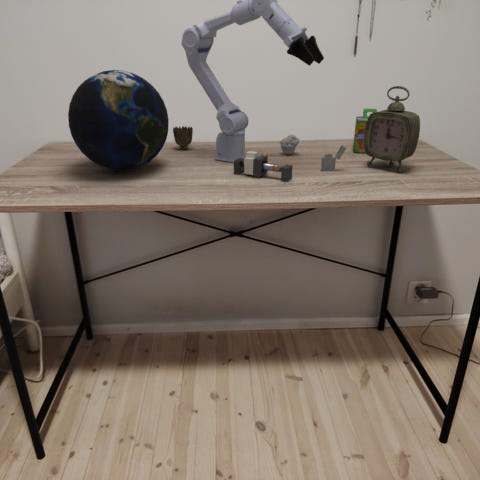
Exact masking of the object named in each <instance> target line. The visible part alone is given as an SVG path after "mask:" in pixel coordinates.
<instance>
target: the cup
mask: <svg viewBox="0 0 480 480" xmlns="http://www.w3.org/2000/svg"><path fill="white" fill-rule="evenodd" d="M193 129H194V128H193V126H191V127H190V126H188V127H187V126H186V125H185V126H184V125H183V126H179V127H178V126H175V127H172V132H173V139H174V142H175V144H176V145H178V148H179V150H180V151H187V150H189V149H190V145H191V144H192V142H193V133H194V132H193Z"/></svg>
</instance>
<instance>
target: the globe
mask: <svg viewBox="0 0 480 480" xmlns="http://www.w3.org/2000/svg"><path fill="white" fill-rule="evenodd" d="M67 114H68V116H67V117H68V128H69V132H70V135H71V137H72V139H73V141H74V144H75V145H76V147H77V148H78V149H79V151H80V152H81V153H82V154H83V155H84V156H85V157H86V158H87V159H89V160H90V161H91V162H92V163H94V164H96V165H98V166H99V167H102V168H105V169H108V170H112V171H121V172H122V171H124V172H125V171H132V170H136V169H139V168H141V167H143V166H146V165H147V164H149V163H151V162H152V161H153V160H154V159H155V158H156V157H157V156H158V155H159V153H160V152H161V150H163V147H164V146H165V143H166V141H167V138H168V133H169V114H168V110H167V107H166V103H165V102H164V100H163V98H162V96H161V94H160V93H159V91H157V89H156V88H155V87H154V86H153V85H152V84H151V83H150V82H148V81H147V80H146V79H145V78H143V77H141V76H139V75H138V74H136V73H133V72H130V71H125V70H119V69H113V70H111V69H109V70H103V71H101V72H96V73H94V74H93V75H91V76H90V77H88V78H87V79H85V80H84V81H83V82H82V83H80V85H79V86H78V87H77V88H76V90H75V92H74V93H73V95H72V97H71V100H70V102H69V106H68V112H67Z"/></svg>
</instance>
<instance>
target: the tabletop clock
mask: <svg viewBox="0 0 480 480" xmlns="http://www.w3.org/2000/svg"><path fill="white" fill-rule="evenodd" d="M394 89H396V90H397V89H399V90H403V91H405V92H406V93H407V96H406V97H405V98H400V96H399V95H396V96H395V98H394V97H391V96H390V94H389V93H390V92H391V91H392V90H394ZM386 96H387V97H388V99H389V100H392V101H393V102H391V103H390V104H389V105H388V106H387V108H386V109H383V110H380V111H377V112H375V113H372V112H371V113H369V115H368V116H369V118H368V120H367V124H366V129H365V137H364V149H365V153H364V154H365V155H367V156H369V157H371V159H370V160H369V161H366V166H368V167H371V166H372V164H373V161H374V160H375V159H376V160H377V159H378V160H381V161H388V164H387V165H388V166H389V167H393V166H394V162H398V168H397V172H398V173H403V172H404V168H403V167H402V161H403V160H407V159H408V158H410V157H412V156H413V155H414V154H415V152H416V150H417V146H418V143H419V139H420V132H421V131H420V130H421V118H420V115H419V114H417V113H415V112H413V111H409V110H406V108H405V106H404V104H403V103H402V102H403V101H406V100H407V99H409V98H410V91H409V89H408V88H406V87H404V86H398V85H395V86H392V87H390V88H389V89H388V90H387V91H386Z"/></svg>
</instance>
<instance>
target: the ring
mask: <svg viewBox="0 0 480 480" xmlns="http://www.w3.org/2000/svg"><path fill="white" fill-rule="evenodd" d="M262 163H268V164H269V155H263V154H262V155H259V157H257V158H255V159H254V175H253V176H254V177H261V178H262V176H264V175H266V174H267V173H268V171H269V170H262Z"/></svg>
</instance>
